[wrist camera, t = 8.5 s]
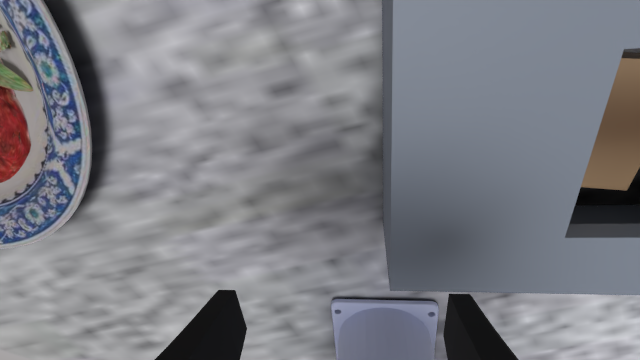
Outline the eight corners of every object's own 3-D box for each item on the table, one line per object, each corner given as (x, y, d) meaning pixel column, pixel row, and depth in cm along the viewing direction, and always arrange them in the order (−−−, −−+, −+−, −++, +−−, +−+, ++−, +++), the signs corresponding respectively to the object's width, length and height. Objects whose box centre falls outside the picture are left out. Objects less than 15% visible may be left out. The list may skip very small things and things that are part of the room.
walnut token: (589, 164, 19) (626, 190, 16) (516, 159, 19) (541, 183, 16) (641, 52, 16) (697, 61, 13) (554, 48, 16) (592, 56, 13)
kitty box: (735, 217, 19) (881, 299, 13) (383, 221, 22) (390, 290, 16) (915, -88, 12) (1328, -160, 7) (382, -26, 15) (393, -45, 10)
